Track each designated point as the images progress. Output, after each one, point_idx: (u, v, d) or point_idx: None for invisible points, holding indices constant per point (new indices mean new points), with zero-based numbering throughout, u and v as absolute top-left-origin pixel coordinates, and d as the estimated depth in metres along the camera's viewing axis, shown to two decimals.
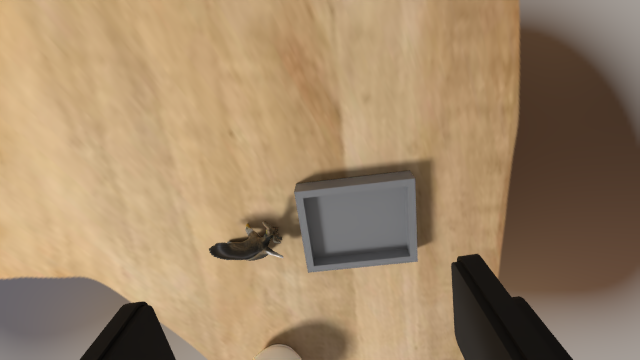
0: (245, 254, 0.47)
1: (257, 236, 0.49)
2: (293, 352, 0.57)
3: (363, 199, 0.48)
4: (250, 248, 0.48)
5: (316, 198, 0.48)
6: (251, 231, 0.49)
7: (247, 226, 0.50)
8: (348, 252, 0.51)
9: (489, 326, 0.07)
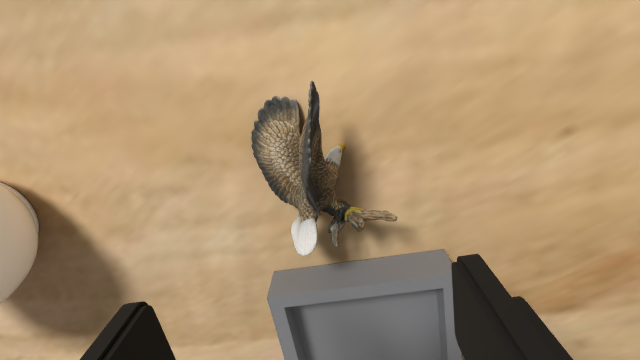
0: None
1: (334, 185, 0.21)
2: (32, 264, 0.24)
3: (414, 357, 0.28)
4: (313, 180, 0.20)
5: (420, 290, 0.25)
6: (339, 165, 0.22)
7: (341, 148, 0.22)
8: (305, 340, 0.28)
9: (489, 326, 0.07)
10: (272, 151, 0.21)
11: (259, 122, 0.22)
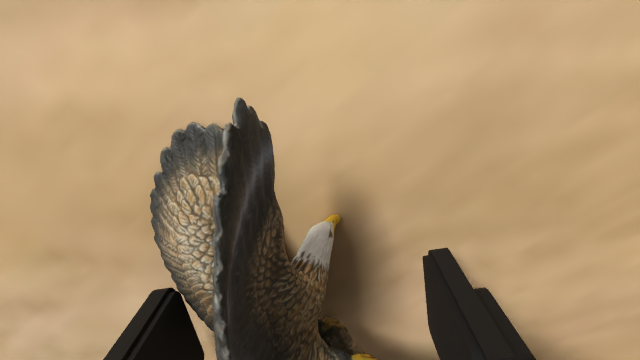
0: (241, 339, 0.07)
1: None
2: None
3: None
4: (267, 323, 0.08)
5: None
6: (327, 266, 0.10)
7: (333, 226, 0.11)
8: None
9: (450, 314, 0.08)
10: (182, 245, 0.10)
11: (163, 176, 0.11)
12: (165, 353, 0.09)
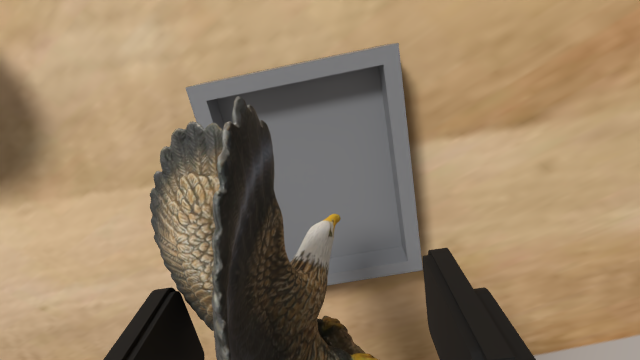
0: (241, 338, 0.07)
1: None
2: None
3: (364, 184, 0.25)
4: (267, 323, 0.08)
5: (364, 92, 0.23)
6: (327, 265, 0.10)
7: (333, 225, 0.11)
8: None
9: (450, 314, 0.08)
10: (182, 245, 0.10)
11: (163, 175, 0.11)
12: (165, 353, 0.09)
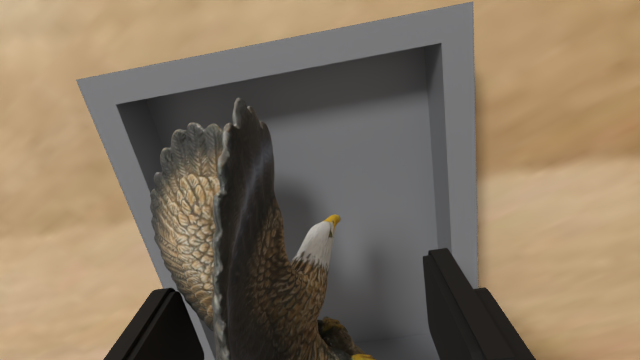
0: (241, 339, 0.07)
1: None
2: None
3: (389, 241, 0.16)
4: (267, 324, 0.08)
5: (397, 94, 0.13)
6: (327, 266, 0.10)
7: (333, 226, 0.11)
8: None
9: (449, 314, 0.08)
10: (182, 246, 0.10)
11: (163, 176, 0.11)
12: (165, 353, 0.09)
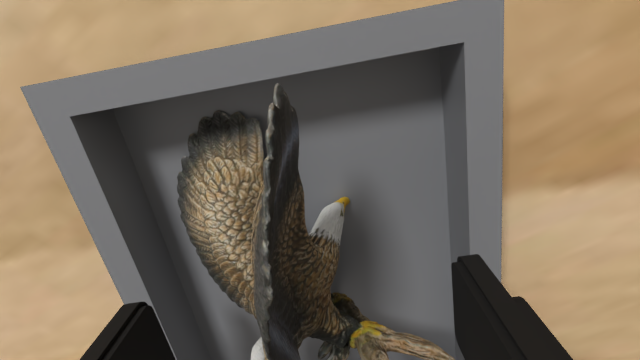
0: None
1: None
2: None
3: (396, 269, 0.14)
4: (289, 287, 0.10)
5: (406, 102, 0.11)
6: (339, 241, 0.11)
7: (343, 207, 0.12)
8: (173, 237, 0.13)
9: (489, 326, 0.07)
10: (209, 220, 0.11)
11: (190, 159, 0.12)
12: None
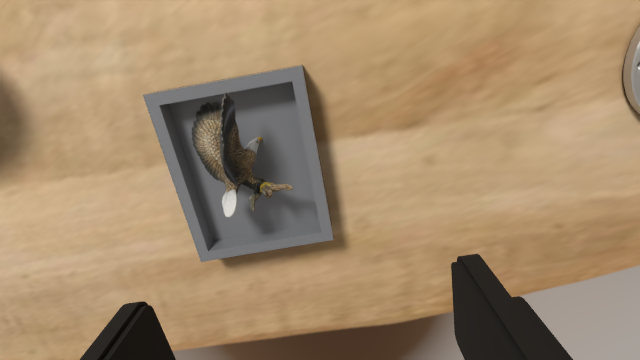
0: (226, 159, 0.27)
1: None
2: None
3: (287, 172, 0.32)
4: (234, 161, 0.28)
5: (283, 101, 0.30)
6: (255, 152, 0.30)
7: (259, 140, 0.30)
8: (191, 158, 0.31)
9: (489, 326, 0.07)
10: (205, 142, 0.29)
11: (196, 121, 0.30)
12: None
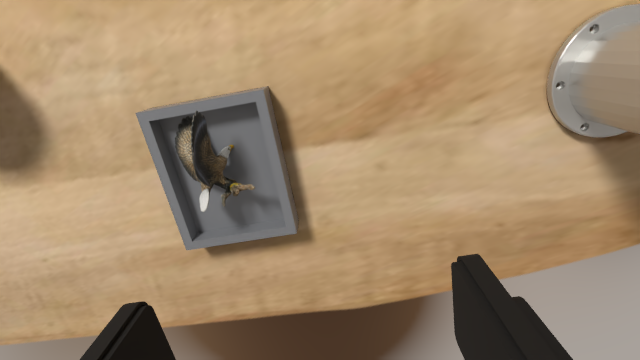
0: (198, 164, 0.33)
1: (223, 169, 0.35)
2: None
3: (258, 175, 0.38)
4: (206, 166, 0.34)
5: (252, 116, 0.36)
6: (227, 157, 0.36)
7: (230, 147, 0.36)
8: (177, 163, 0.38)
9: (489, 326, 0.07)
10: (184, 149, 0.35)
11: (179, 131, 0.36)
12: None
